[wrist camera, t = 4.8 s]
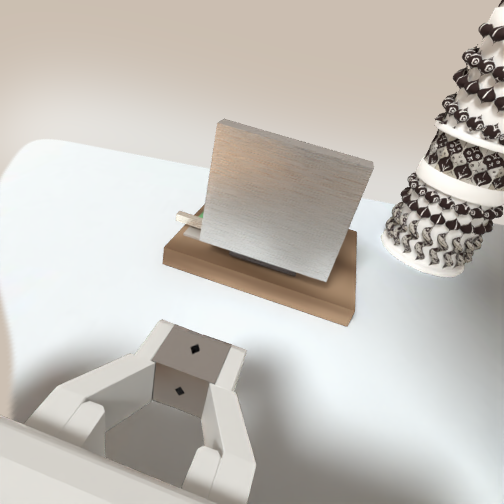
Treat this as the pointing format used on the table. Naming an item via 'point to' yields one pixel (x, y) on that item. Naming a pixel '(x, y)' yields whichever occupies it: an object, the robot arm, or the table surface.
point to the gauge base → (270, 275)
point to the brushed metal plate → (279, 200)
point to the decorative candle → (457, 168)
